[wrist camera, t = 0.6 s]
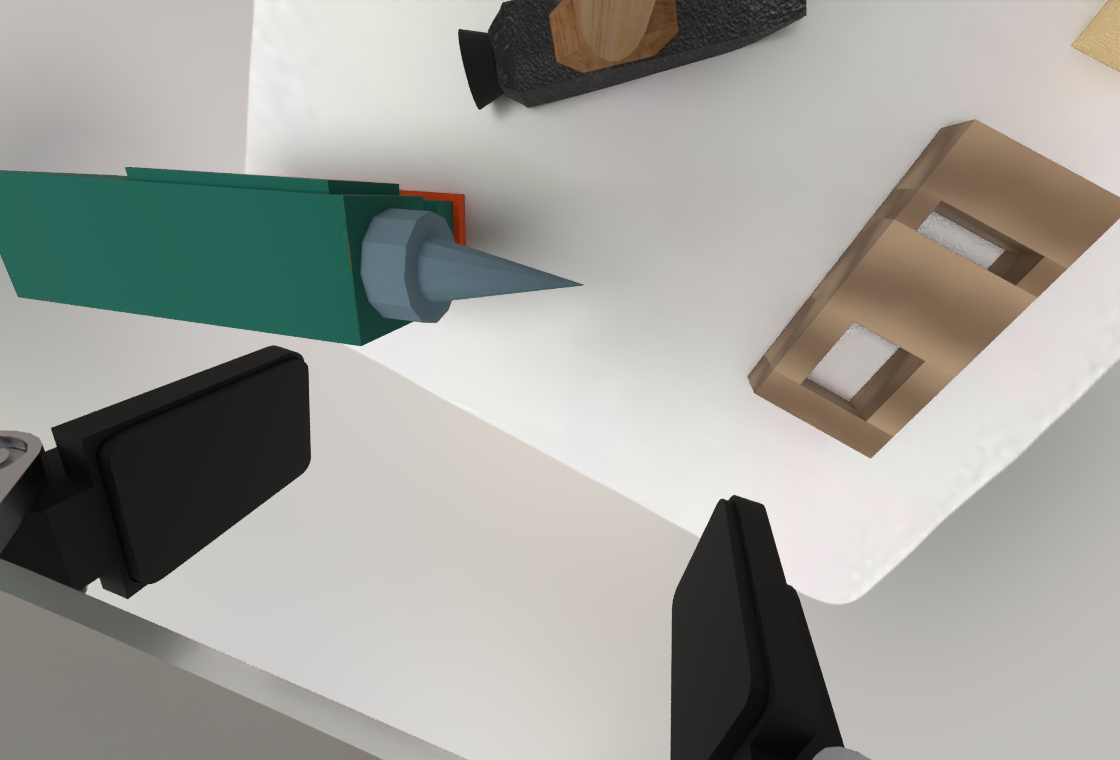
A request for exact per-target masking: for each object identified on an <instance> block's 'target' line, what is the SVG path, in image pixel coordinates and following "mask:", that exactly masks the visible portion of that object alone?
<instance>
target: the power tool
mask: <svg viewBox="0 0 1120 760" xmlns="http://www.w3.org/2000/svg"><path fill="white" fill-rule="evenodd" d="M125 169H126V172H127V176H117V175H97V174H74V173H50V172H26V171H3V170H0V255H1V257H2V260H3V262H4V265H5V267H6V269H7V272H8V274H9V276H10V279H11V281H12V284H13V286H14V288H15V291H16V293H17V296H18V297H21V298H28V299H36V300H42V301H50V302H56V303H63V304H70V305H77V306H84V307H91V308H98V309H105V310H112V311H119V312H126V313H133V314H140V315H147V316H154V317H162V318H168V319H175V320H182V321H189V322H196V323H203V324H210V325H217V326H224V327H231V328H238V329H246V330H252V331H259V332H266V333H273V334H280V335H287V336H294V337H302V338H308V339H315V340H322V341H329V342H336V343H343V344H350V345H357V346H363V345H365V344H367V343H369V342H371V341H373V340H375V339H377V338H380V337H382V336H384V335H386V334H388V333H390V332H392V331H394V330H397V329H399V328H401V327H403V326H405V325H407V324H409V323H411V322H414V321H415V322H423V323H437V322H438V321H439V320H440V319H441V318H442V317H443V315H444V314H445V313H446V312H447V311H448V310H449V307H450V304H451V301H452V300H459V299H468V298H476V297H485V296H494V295H503V294H511V293H520V292H529V291H538V290H546V289H555V288H564V287H573V286H581V285H583V284H580V283H576V282H573V281H570V280H567V279H564V278H561V277H558V276H555V275H552V274H549V273H546V272H543V271H540V270H537V269H534V268H531V267H528V266H524V265H521V264H518V263H515V262H512V261H509V260H506V259H503V258H500V257H497V256H494V255H491V254H488V253H485V252H482V251H479V250H475V249H472V248H469V247H466V245H465V204H464V194H450V193H435V192H420V191H404V190H399V184H390V183H374V182H359V181H343V180H327V179H311V178H295V177H279V176H264V175H248V174H232V173H214V172H199V171H183V170H167V169H152V168H151V169H150V168H132V167H125Z"/></svg>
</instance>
